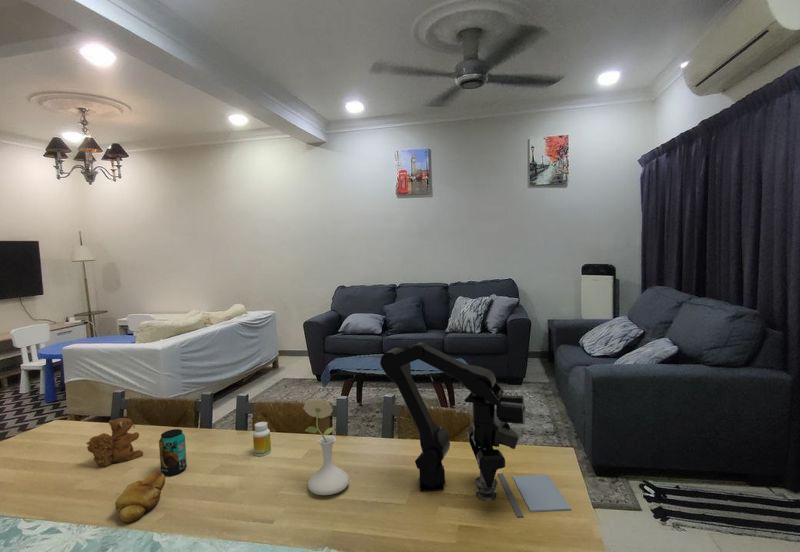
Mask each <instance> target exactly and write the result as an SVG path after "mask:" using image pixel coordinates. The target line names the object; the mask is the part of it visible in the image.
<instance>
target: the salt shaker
mask: <svg viewBox="0 0 800 552" xmlns="http://www.w3.org/2000/svg"><path fill="white" fill-rule="evenodd" d="M478 469H479V476H478V477H476V478H475V479H474V484H475V486H476V489H477V490H478V491H476V498H478V499H479V500H481V501H485V502H491V501H494V500H496V499H497V497H498V495H497V494H498V493H496V492H495V491H496V490H497V486H498V480H497V479H496V478H495V477H494V481H493V485H492V487H491V488H487V485H486V483H485V480H484V478H483V476H482V473H481V471H480V468H479V467H478Z"/></svg>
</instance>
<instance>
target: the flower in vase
mask: <svg viewBox="0 0 800 552" xmlns="http://www.w3.org/2000/svg"><path fill="white" fill-rule="evenodd" d="M303 410H304V411H305V413H306V414H307V415H308V416H310V417H312V418H316V421H315V422H316V427H314V426H308V427H307V428H305V430H304V432H306V433H307V432H308V433H312V434H317V433H319V434H320V436H319V438H318V439H317V443H319V445H320V446H321V450H322V456H323V464H322V466H321V467H320V468H319V469H317V470H316V471H315V473H314V474H312V476H311V477H310V478H309V479H308V482H307V488H308V489H309V491H310V492H311V493H312V494H315V495H320V496H331V495H334V494H338V493H341V492H343V490H345V489H346V488H347V486H349V483H350V477H349V475H348V473H347V472H345V471H344V470H343V469H341V468H340V467H338V466H336V465H335V464H334V463H333V458H332V454H333V445H334V443H335V441H336V440H337V439H336V436H334V435H330V434H331V433H332V432H333V431H334V430H335V427H336V425H334V426H332V427H329V428H327V429H326V430H324V432H323V433H322V432H321V430H320V429H319V426H318V425H319V424H318V423H319V422H318V419H319V418H320V419H324V418H327V417H329V416H332V413H333V411H334V409H333V406H331V402H328V401H327V400H323V398H316V397H315V398H310V400H307V401H305V403H304V406H303Z"/></svg>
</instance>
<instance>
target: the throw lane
mask: <svg viewBox="0 0 800 552" xmlns="http://www.w3.org/2000/svg"><path fill="white" fill-rule="evenodd" d="M496 474H497V476H498V478H499V480H500V482H501V486H502V487H503V490H504V491H505V494H506V497H507V499H508V500H509V503H510V505H511V507H512V509H513V512H514V513H515V515H516V518H517V519H518V518H524V517H525V516H524V514H523V512H522V510H521V508H520V506H519V504H518V502H517V500H516V498H515V496H514V494H513V492H512V489H511V487H510V485H509V483H508V481H507V479H506V477H505V475H504V473H503V472H499V473H498V472H496ZM511 478H512V479H513V481H514V483H515V485H516V487H517V488H518V490H519V493H520V495H521V497H522V498H523V500H524V502H525V505H526V506H527V508H528V511H529V512H530V513H535V512H536V513H539V512H561V511H572V508H571V507H572V506H570V505H569V502H567V499H565V497H564V495H563V494H562V493H561V491H560V490H559V488H558V487H557V486H556V484H555V482H554V481H553V480H552V478H551V477H550V476H549V474H532V475H512V477H511Z"/></svg>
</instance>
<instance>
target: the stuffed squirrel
mask: <svg viewBox="0 0 800 552" xmlns="http://www.w3.org/2000/svg"><path fill="white" fill-rule="evenodd" d="M108 425H109V426H110V429H111V435H110V434H108V433H100V434H98V435H95V436H92V437H90V439H89V441H87V442H85V445H87V446H86V449H87V451H88V452H89V453H91V454H93V461H94V462H95V463H96V464H97V465H99V466H101V467H105V468H106V467H108V466H111V465H112V464H114V463H123V462H129V461H132V460H134V459H138V458H139V457H142V456H143V455H144V451H143V450H141V449H139V450H138V449H137V450H134V446H133V444H132V442H134V441H136V440H138V439H139V437H140V434H139V432H137V431H136V432H133V433H131V432H129V431H130V430H131V428H132V427H133V429H135V428H136V426H135V425H134V423H133V422H132V420H131V419H130V418H127V417H118V418H116V419H114V420H111V419H110V420H109V421H108Z"/></svg>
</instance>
